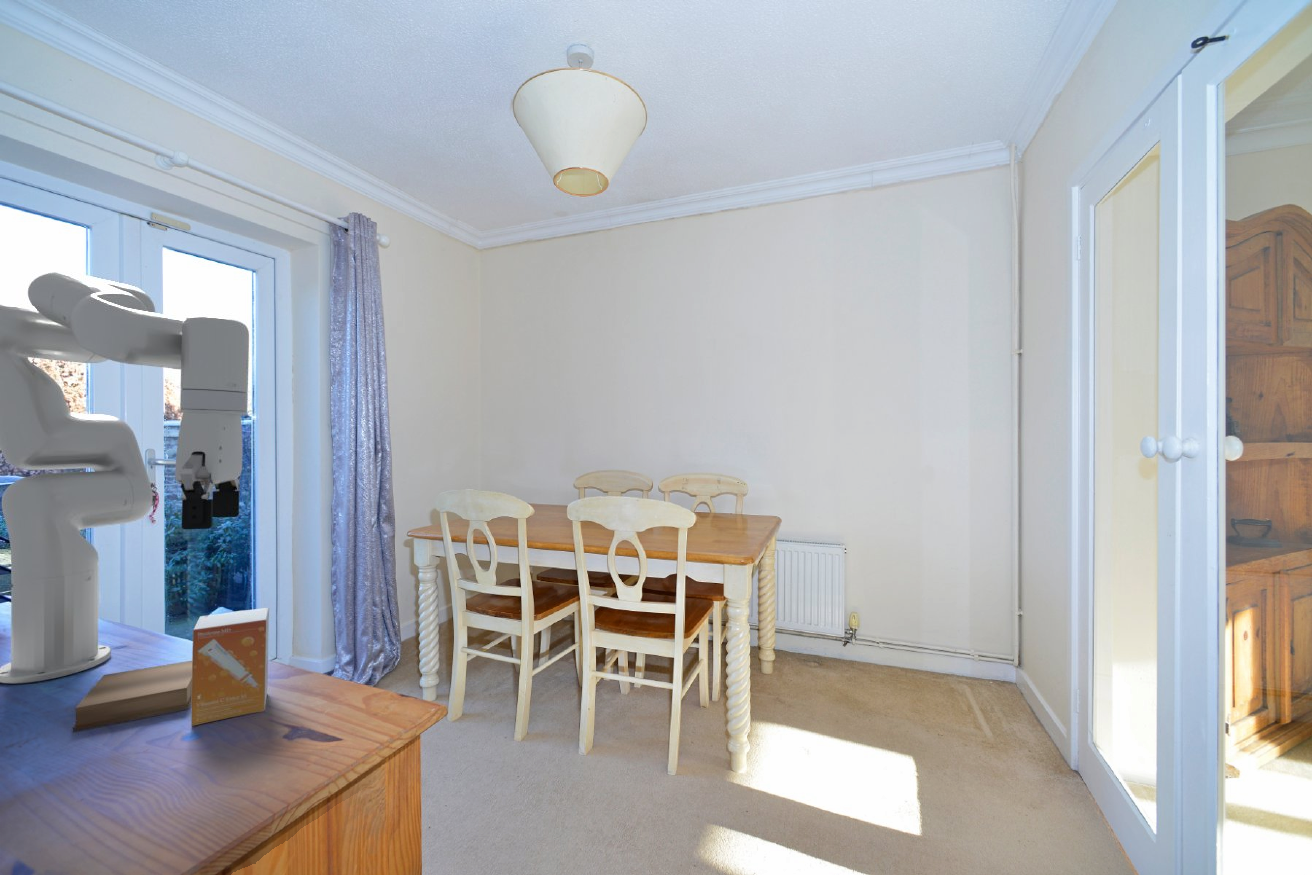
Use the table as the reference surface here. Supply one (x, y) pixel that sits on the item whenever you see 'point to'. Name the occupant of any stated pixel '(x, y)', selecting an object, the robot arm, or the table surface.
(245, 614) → the small box
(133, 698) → the plinth
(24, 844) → the table surface
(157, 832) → the table surface
